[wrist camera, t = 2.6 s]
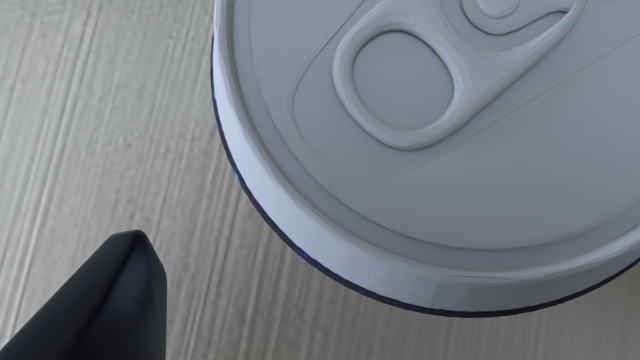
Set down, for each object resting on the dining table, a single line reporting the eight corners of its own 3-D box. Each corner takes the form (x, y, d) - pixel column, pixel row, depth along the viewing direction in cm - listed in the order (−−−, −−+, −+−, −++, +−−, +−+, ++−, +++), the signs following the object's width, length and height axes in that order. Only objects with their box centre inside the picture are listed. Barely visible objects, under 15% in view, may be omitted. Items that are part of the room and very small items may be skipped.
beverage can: (548, 186, 16) (997, 25, 5) (398, 314, 16) (457, 485, 5) (416, 44, 17) (507, -400, 5) (273, 166, 17) (52, -14, 5)
